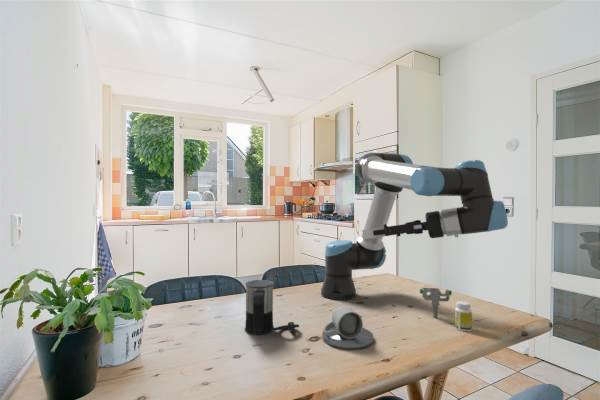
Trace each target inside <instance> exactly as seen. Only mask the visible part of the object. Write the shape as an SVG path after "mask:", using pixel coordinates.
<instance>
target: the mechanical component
mask: <svg viewBox="0 0 600 400" xmlns="http://www.w3.org/2000/svg"><path fill="white" fill-rule="evenodd" d="M428 293H429V294H428ZM452 293H453V292H452V290H449V289H445V292H444V293H442V292H441V289H440V288H437V287H434V288H433V287H421V288H420V289H419V294H422V295H421V296H422V297H423V299H424V300H425V301H430V302H431V305H432V317H433V319H438V317H439V306H440V302H449V301H450V297H451V296H452ZM442 297H445V298H442Z"/></svg>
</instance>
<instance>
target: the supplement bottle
mask: <svg viewBox="0 0 600 400" xmlns="http://www.w3.org/2000/svg"><path fill="white" fill-rule="evenodd" d="M455 306H456V307H455V308H454V328H455V329H456V330H458V331H462V332H471V331H472V324H473V323H472V309H471V303H470V302H468V301H464V300H458V301H456V303H455Z"/></svg>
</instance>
